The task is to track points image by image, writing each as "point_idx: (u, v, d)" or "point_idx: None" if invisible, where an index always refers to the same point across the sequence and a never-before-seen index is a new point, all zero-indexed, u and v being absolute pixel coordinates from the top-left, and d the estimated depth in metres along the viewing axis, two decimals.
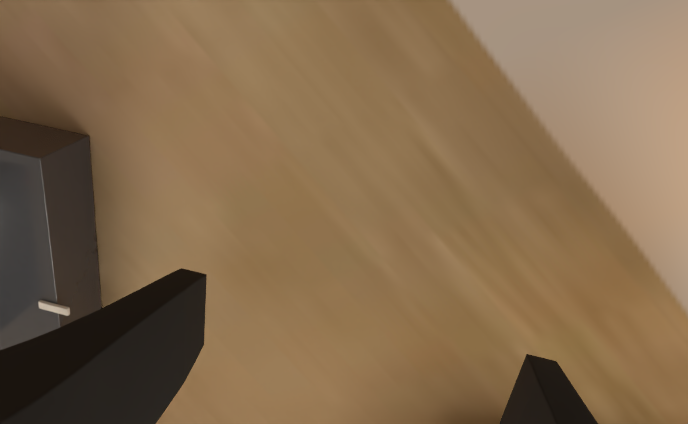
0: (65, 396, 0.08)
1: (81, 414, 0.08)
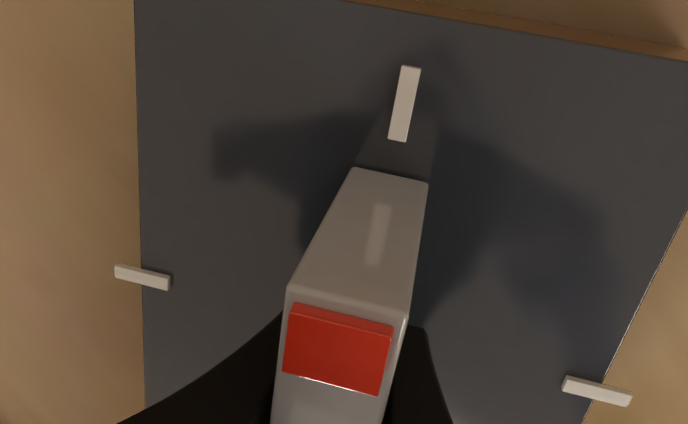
0: None
1: None
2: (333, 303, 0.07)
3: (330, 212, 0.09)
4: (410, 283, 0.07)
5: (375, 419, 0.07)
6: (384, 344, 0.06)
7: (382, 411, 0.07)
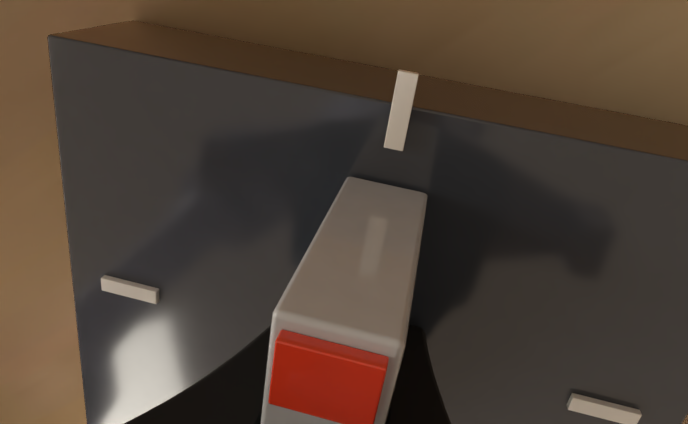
0: None
1: None
2: (323, 332, 0.06)
3: (323, 227, 0.08)
4: (407, 308, 0.07)
5: None
6: (379, 377, 0.06)
7: None
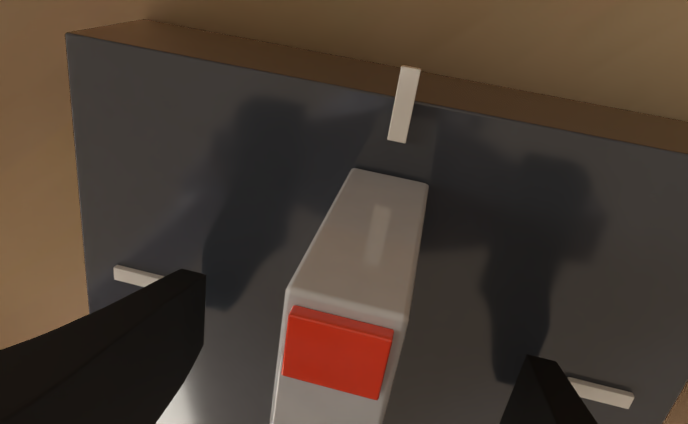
0: (65, 396, 0.08)
1: (81, 414, 0.08)
2: (333, 306, 0.07)
3: (330, 214, 0.09)
4: (411, 286, 0.07)
5: None
6: (384, 347, 0.06)
7: (382, 415, 0.07)
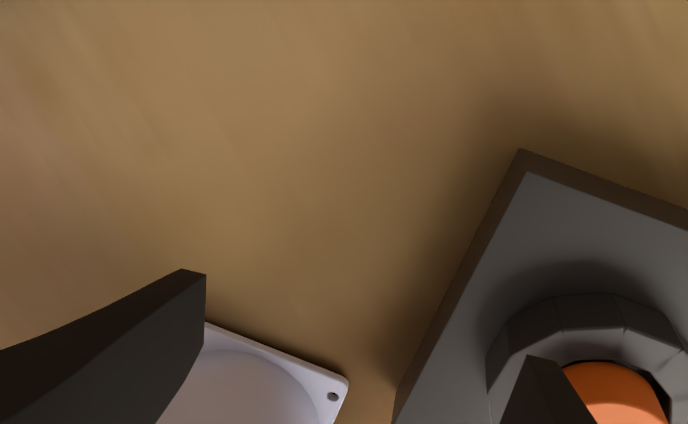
0: (65, 396, 0.08)
1: (81, 414, 0.08)
2: None
3: None
4: None
5: None
6: None
7: None
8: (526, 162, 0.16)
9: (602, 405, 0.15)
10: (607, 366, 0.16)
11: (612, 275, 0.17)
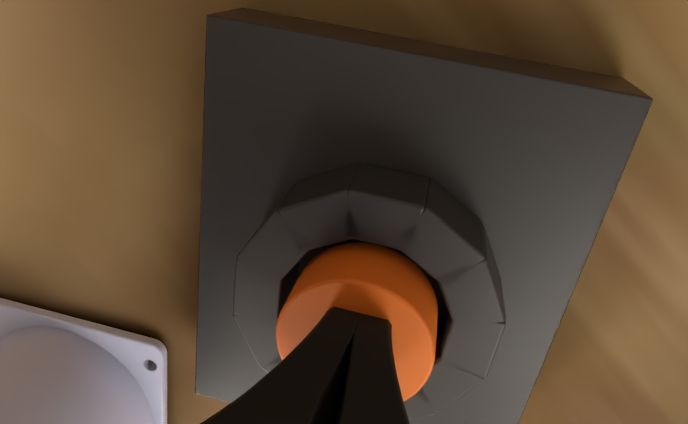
0: None
1: None
2: None
3: None
4: None
5: None
6: None
7: None
8: (223, 12, 0.13)
9: (321, 288, 0.11)
10: (352, 246, 0.12)
11: (354, 138, 0.13)
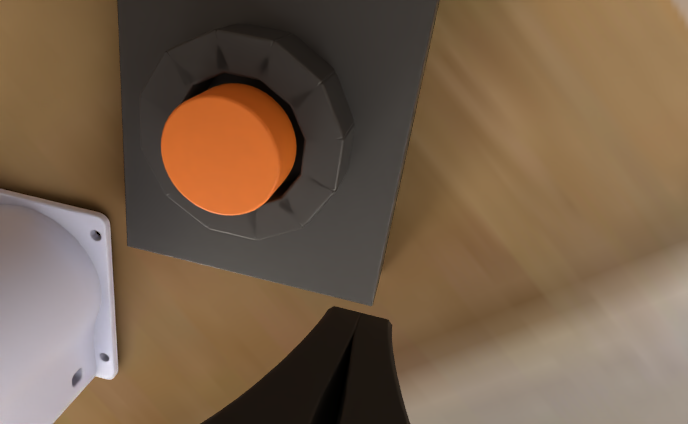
0: None
1: None
2: None
3: None
4: None
5: None
6: None
7: None
8: None
9: (189, 104, 0.14)
10: (224, 84, 0.16)
11: (232, 2, 0.16)
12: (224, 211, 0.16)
